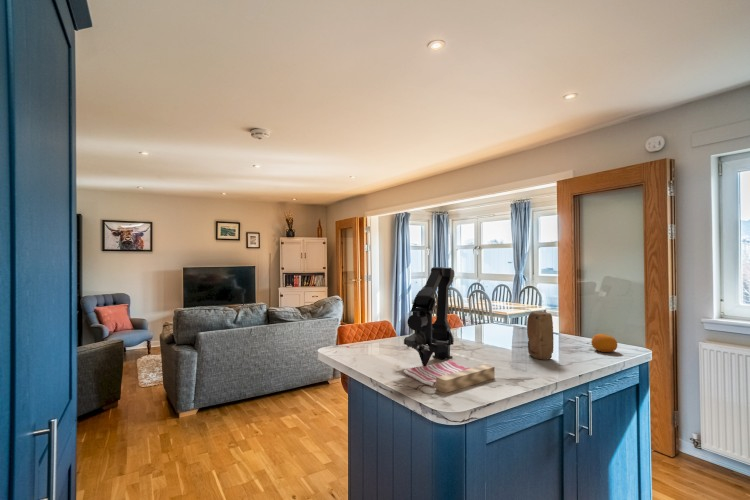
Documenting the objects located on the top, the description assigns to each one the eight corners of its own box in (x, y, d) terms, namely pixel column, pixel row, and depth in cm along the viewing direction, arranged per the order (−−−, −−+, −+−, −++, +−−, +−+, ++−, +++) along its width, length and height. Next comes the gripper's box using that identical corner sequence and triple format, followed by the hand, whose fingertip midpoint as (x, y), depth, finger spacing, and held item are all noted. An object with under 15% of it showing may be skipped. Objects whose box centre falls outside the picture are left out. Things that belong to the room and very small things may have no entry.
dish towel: (480, 377, 138) (480, 368, 138) (432, 388, 126) (432, 378, 126) (448, 366, 153) (448, 357, 153) (401, 375, 140) (401, 366, 140)
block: (555, 360, 161) (555, 313, 162) (539, 361, 160) (539, 313, 160) (539, 353, 172) (539, 309, 172) (524, 354, 170) (524, 310, 171)
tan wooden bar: (485, 375, 140) (485, 364, 140) (494, 378, 136) (494, 366, 137) (436, 389, 124) (436, 377, 124) (445, 393, 121) (445, 380, 121)
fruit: (623, 353, 173) (623, 336, 173) (602, 354, 171) (602, 336, 171) (606, 348, 183) (606, 332, 183) (586, 349, 182) (586, 332, 182)
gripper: (393, 324, 150) (393, 364, 150) (426, 332, 135) (426, 376, 135) (414, 322, 157) (414, 359, 156) (448, 329, 142) (448, 370, 141)
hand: (424, 366), depth 147 cm, fingers closed
